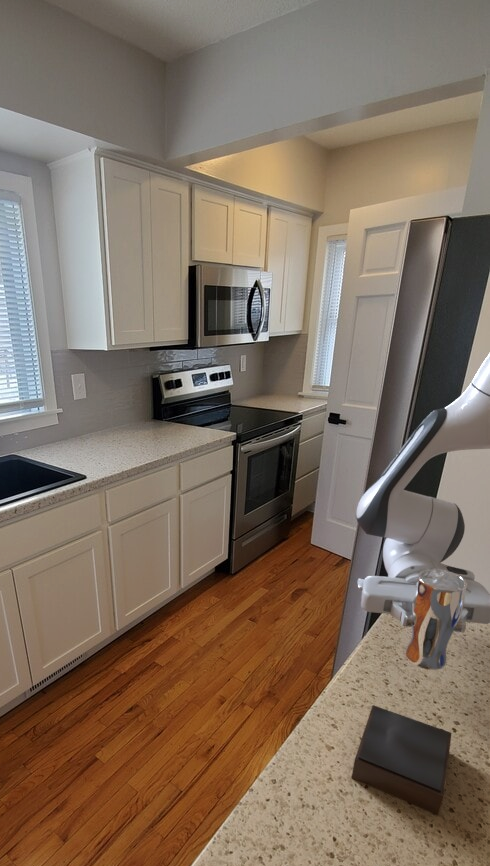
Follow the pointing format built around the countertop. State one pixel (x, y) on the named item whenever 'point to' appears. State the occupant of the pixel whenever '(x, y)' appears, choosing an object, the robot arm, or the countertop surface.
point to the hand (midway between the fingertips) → (434, 625)
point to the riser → (403, 758)
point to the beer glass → (434, 616)
